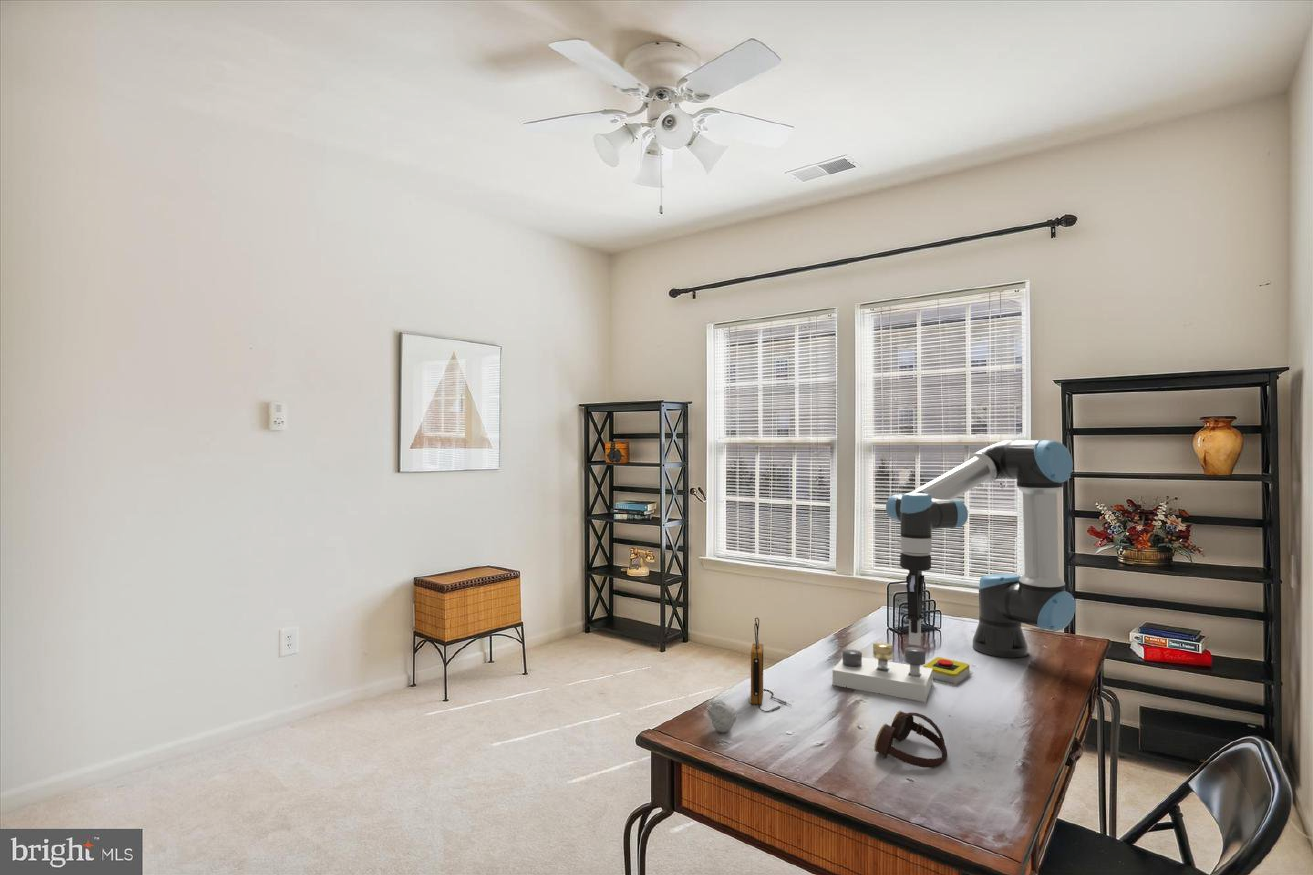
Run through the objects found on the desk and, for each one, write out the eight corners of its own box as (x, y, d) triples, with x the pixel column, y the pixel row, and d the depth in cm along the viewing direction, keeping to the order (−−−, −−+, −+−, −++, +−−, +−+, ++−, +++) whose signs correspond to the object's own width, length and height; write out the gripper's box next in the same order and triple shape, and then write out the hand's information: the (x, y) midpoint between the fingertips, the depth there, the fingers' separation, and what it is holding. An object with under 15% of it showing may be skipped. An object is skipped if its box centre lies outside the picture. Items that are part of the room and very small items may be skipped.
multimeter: (792, 714, 161) (792, 630, 161) (749, 711, 163) (749, 627, 163) (792, 691, 176) (792, 613, 176) (753, 688, 178) (753, 611, 178)
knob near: (926, 675, 178) (926, 649, 178) (923, 681, 174) (923, 654, 174) (906, 672, 180) (906, 646, 180) (903, 678, 176) (903, 651, 176)
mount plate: (932, 683, 182) (932, 668, 181) (925, 701, 169) (925, 685, 169) (845, 668, 193) (845, 654, 193) (832, 684, 180) (832, 669, 180)
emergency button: (919, 663, 186) (940, 650, 197) (918, 679, 186) (939, 665, 197) (954, 671, 180) (973, 657, 191) (953, 688, 180) (973, 673, 191)
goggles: (893, 730, 152) (903, 689, 151) (952, 761, 144) (964, 718, 143) (866, 755, 141) (877, 711, 139) (929, 790, 133) (942, 744, 131)
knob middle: (894, 670, 182) (894, 644, 182) (890, 676, 177) (891, 649, 177) (874, 667, 184) (875, 641, 184) (871, 673, 180) (871, 646, 180)
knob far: (863, 676, 186) (863, 651, 186) (859, 682, 181) (859, 656, 181) (844, 673, 188) (845, 648, 188) (840, 679, 184) (840, 653, 184)
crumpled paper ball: (701, 728, 154) (701, 697, 154) (729, 723, 156) (729, 693, 156) (713, 739, 148) (713, 707, 148) (742, 734, 151) (742, 703, 151)
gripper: (904, 548, 184) (903, 635, 184) (896, 555, 173) (895, 648, 173) (934, 550, 181) (933, 639, 181) (927, 558, 169) (926, 653, 169)
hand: (914, 643), depth 177 cm, fingers closed
